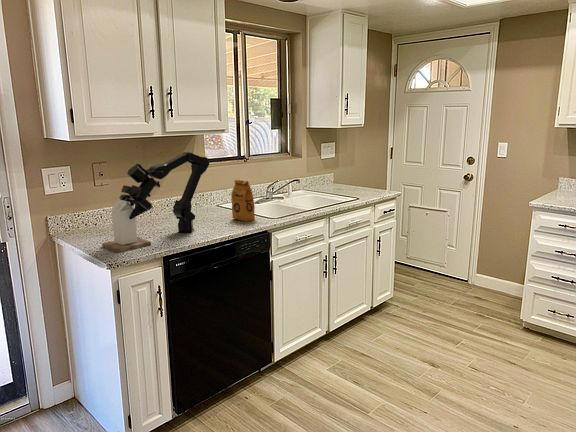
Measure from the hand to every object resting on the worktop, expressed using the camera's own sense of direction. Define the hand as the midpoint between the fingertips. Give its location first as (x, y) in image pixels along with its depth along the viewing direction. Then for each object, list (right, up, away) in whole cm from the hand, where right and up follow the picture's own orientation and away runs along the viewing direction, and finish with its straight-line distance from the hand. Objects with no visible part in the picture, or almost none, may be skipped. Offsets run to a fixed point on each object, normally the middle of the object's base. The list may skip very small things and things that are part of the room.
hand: (124, 217), depth 190 cm
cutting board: (0, -13, +3) cm, 13 cm away
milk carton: (0, -11, +3) cm, 12 cm away
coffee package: (+47, -2, +50) cm, 69 cm away
